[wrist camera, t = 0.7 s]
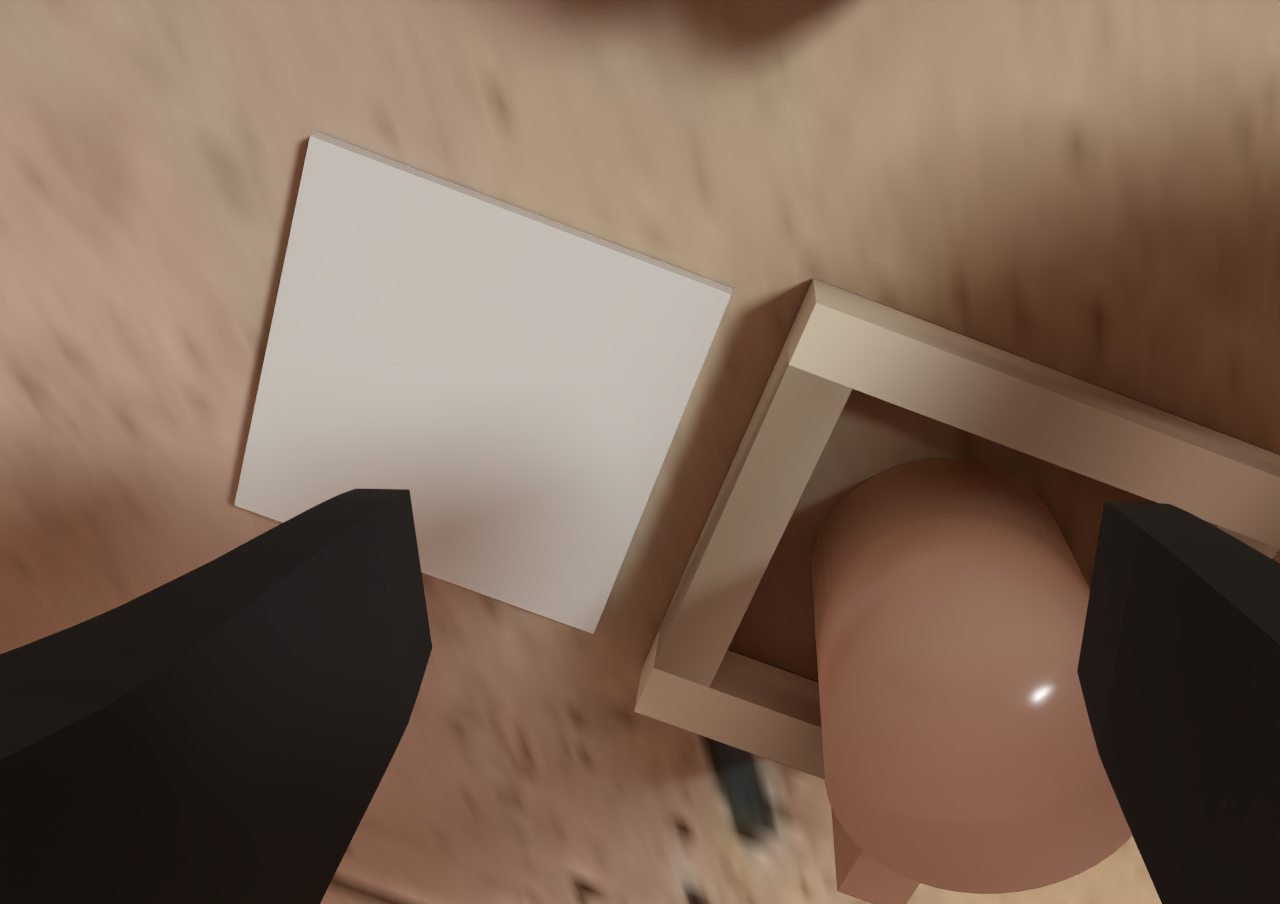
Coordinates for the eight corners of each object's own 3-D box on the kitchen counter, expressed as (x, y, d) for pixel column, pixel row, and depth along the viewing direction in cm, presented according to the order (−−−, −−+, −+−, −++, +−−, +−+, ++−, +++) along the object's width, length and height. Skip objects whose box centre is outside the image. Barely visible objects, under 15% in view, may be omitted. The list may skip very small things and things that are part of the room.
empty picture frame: (1283, 456, 20) (1320, 492, 19) (1036, 809, 24) (1052, 860, 23) (813, 278, 20) (816, 302, 18) (642, 668, 24) (634, 711, 22)
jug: (1112, 511, 21) (1231, 706, 15) (954, 758, 24) (1009, 996, 18) (873, 421, 21) (910, 588, 15) (744, 683, 24) (736, 901, 18)
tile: (732, 288, 20) (731, 294, 19) (596, 623, 23) (593, 634, 23) (318, 132, 19) (309, 135, 19) (242, 496, 23) (234, 505, 22)
